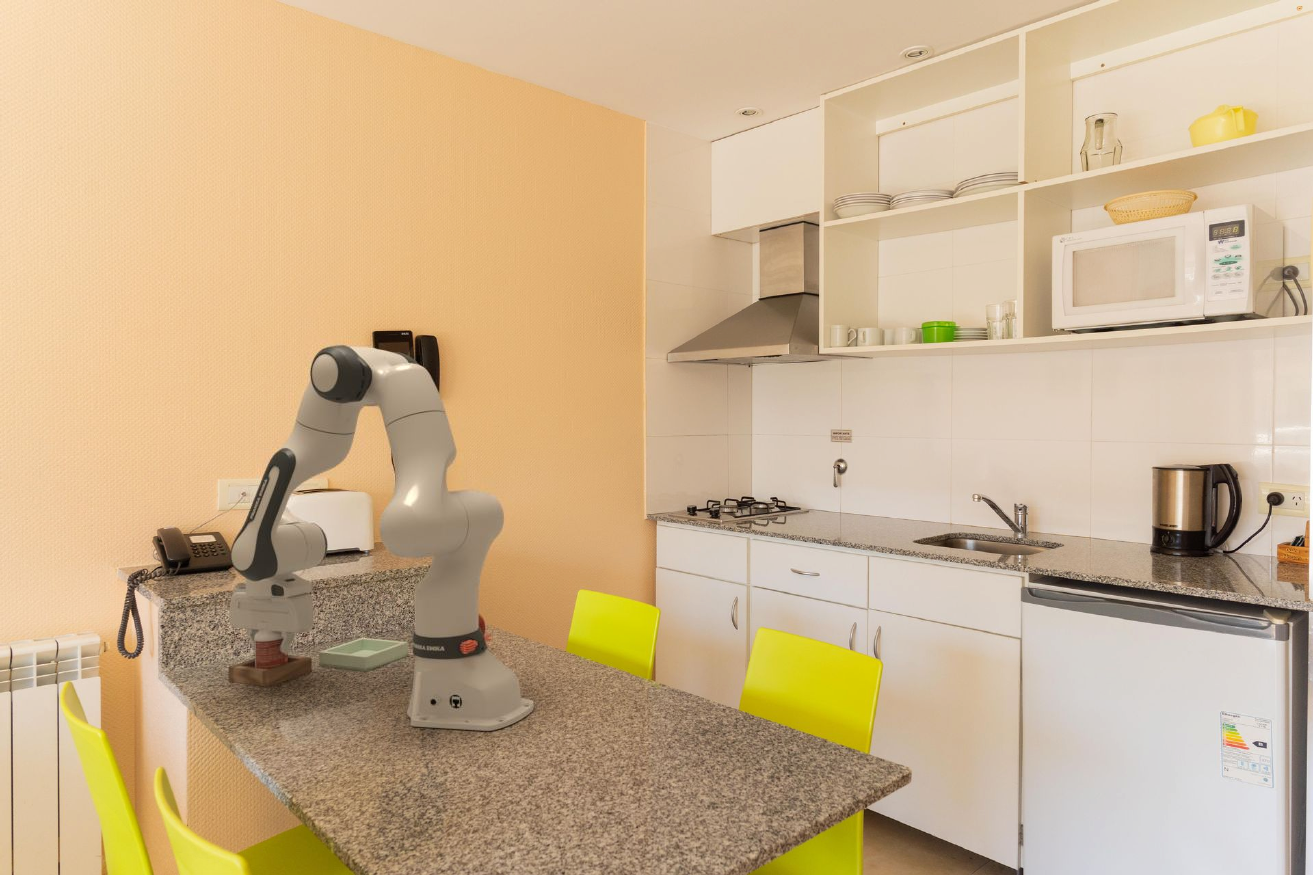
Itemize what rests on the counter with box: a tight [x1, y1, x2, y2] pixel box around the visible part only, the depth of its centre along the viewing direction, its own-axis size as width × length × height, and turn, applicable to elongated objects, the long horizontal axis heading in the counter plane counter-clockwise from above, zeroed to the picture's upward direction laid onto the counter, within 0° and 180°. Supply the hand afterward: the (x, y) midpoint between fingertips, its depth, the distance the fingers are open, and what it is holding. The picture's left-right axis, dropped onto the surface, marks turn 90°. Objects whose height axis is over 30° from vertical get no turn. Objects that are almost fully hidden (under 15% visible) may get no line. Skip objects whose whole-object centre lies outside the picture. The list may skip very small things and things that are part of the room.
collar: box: [228, 654, 313, 688], centre depth 167 cm, size 11×11×3 cm
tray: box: [318, 637, 409, 672], centre depth 178 cm, size 13×13×3 cm
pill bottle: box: [254, 622, 289, 669], centre depth 167 cm, size 6×6×11 cm
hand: (271, 651), depth 167 cm, fingers closed on pill bottle, 6 cm apart
